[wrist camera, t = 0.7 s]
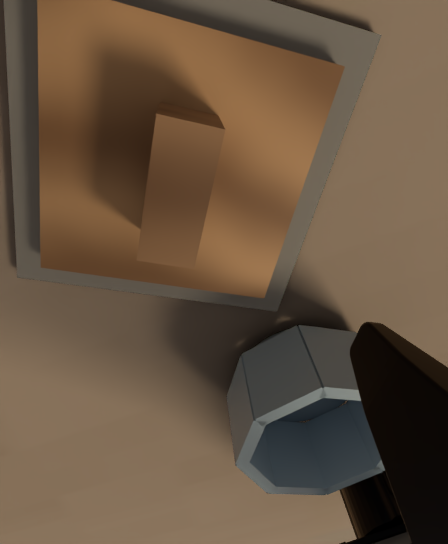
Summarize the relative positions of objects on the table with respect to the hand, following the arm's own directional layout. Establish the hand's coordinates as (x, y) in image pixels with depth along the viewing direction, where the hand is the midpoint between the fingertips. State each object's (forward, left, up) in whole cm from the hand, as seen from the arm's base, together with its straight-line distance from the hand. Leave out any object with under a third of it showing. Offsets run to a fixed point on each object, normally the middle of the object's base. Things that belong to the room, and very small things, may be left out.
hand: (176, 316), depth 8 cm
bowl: (-13, -11, -12) cm, 21 cm away
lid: (0, 0, -12) cm, 12 cm away
